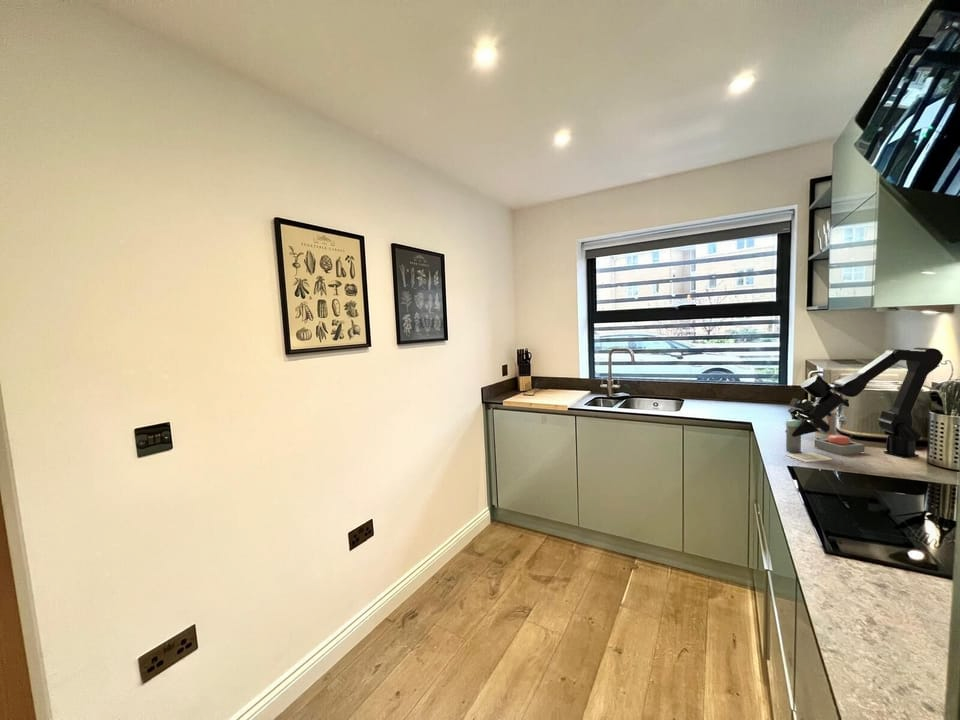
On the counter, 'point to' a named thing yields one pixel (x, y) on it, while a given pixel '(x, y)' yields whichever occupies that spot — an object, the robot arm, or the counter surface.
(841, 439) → the button
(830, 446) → the button box
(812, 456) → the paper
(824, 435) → the bath foam
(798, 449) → the grey green-topped canister
